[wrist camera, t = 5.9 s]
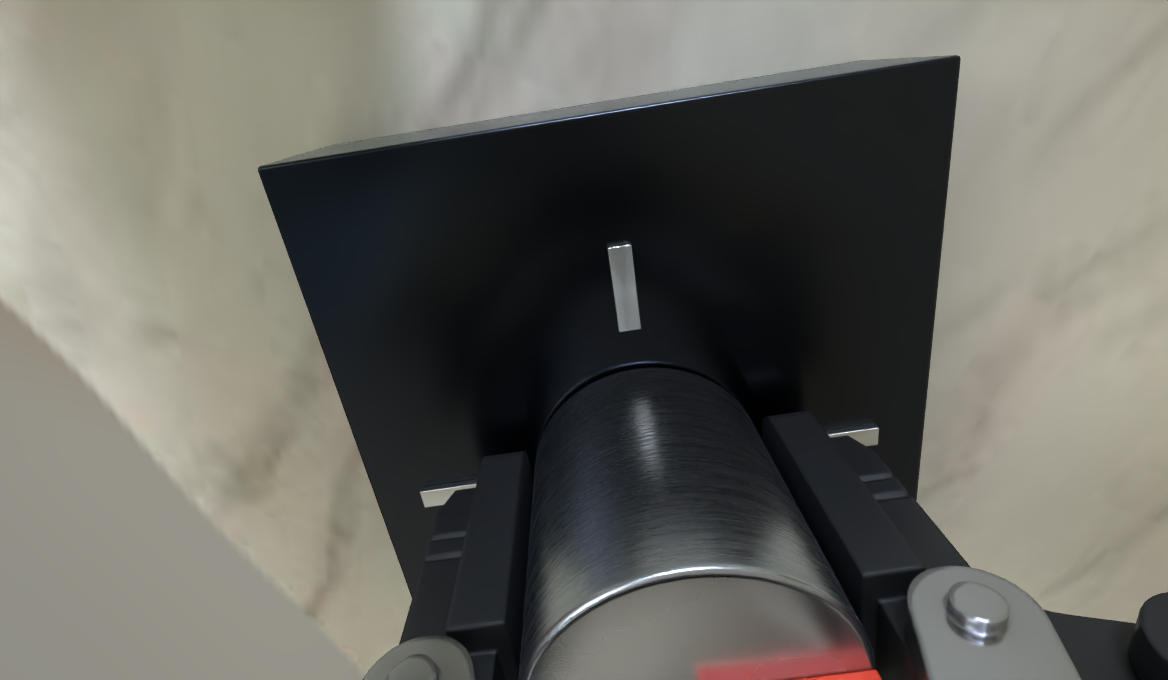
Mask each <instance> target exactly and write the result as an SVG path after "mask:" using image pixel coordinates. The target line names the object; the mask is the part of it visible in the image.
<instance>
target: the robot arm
mask: <svg viewBox="0 0 1168 680" xmlns="http://www.w3.org/2000/svg"><path fill="white" fill-rule="evenodd" d="M762 440H763V443H764V445H765V447H766V449H767V450H768V452H769V454H770V456H771V458H772V460H773V462H774V463H775V465H776V467H777V469H778V471H779V473H780V474H781V476H782V478H783V480H784V482H785V484H786V486H787V487H788V489H789V491H790V493H791V495H792V497H793V498H794V500H795V502H796V504H797V506H798V508H799V510H800V511H801V513H802V515H803V517H804V519H805V521H806V522H807V524H808V526H809V528H810V530H811V532H812V534H813V535H814V537H815V539H816V541H817V543H818V545H819V546H820V548H821V550H822V552H823V554H824V556H825V558H826V559H827V561H828V563H829V565H830V567H831V569H832V570H833V572H834V574H835V576H836V578H837V580H838V582H839V583H840V585H841V587H842V589H843V591H844V593H845V594H846V596H847V598H848V600H849V602H850V604H851V606H852V607H853V609H854V611H855V613H856V615H857V617H858V618H859V620H860V622H861V624H862V626H863V628H864V629H865V632H866V634H867V636H868V638H869V641H870V643H871V646H872V650H873V654H874V659H875V670H877V671H878V673H879V675H880V677H881V679H882V680H1168V592H1167V593H1161V594H1158V595H1155V596H1153V597H1151V598H1149V599H1148V600H1147V601H1145V602H1144V604H1143V606H1142V607H1141V609H1140V612H1139V615H1138V618H1137V622H1136V624H1135V623H1128V622H1120V621H1112V620H1105V619H1097V618H1089V617H1081V616H1074V615H1066V614H1061V613H1055V612H1050V611H1047V610H1043V608H1042V607H1041V606H1040V605H1039V604H1038V603H1037V602H1036V601H1035V600H1034V599H1033V598H1032V597H1031V596H1030V595H1029V594H1027V593H1026V592H1025V591H1023V590H1022V589H1021V588H1019V587H1018V586H1016V585H1015V584H1013V583H1011V582H1009V581H1008V580H1006V579H1004V578H1001V577H999V576H997V575H995V574H992V573H989V572H986V571H983V570H980V569H975V568H971V567H970V566H969V565H968V563H967V562H966V561H965V560H964V558H963V557H962V556H961V555H960V554H959V552H958V551H957V550H956V549H955V548H954V546H953V545H952V544H951V543H950V542H949V540H948V539H947V538H946V537H945V535H944V534H943V533H942V532H941V531H940V529H939V528H938V527H937V526H936V525H935V523H934V522H933V521H932V520H931V519H930V517H929V516H928V515H927V514H926V513H925V511H924V510H923V509H922V508H921V506H920V505H919V504H918V503H917V502H916V500H915V499H914V498H913V497H912V496H909V495H908V491H907V490H906V488H905V487H904V486H903V485H902V483H901V482H900V481H899V480H898V479H897V477H895V478H894V477H893V473H892V471H891V470H890V469H889V468H888V467H887V465H886V464H885V463H884V462H883V461H882V459H881V458H880V457H879V456H878V454H877V453H876V452H875V451H873V450H872V449H870V448H868V447H867V446H865V445H863V444H861V443H860V442H858V441H856V440H855V439H853V438H851V437H850V436H848V435H846V436H839V437H832V438H830V436H829V435H828V434H827V432H826V431H825V430H824V428H823V427H822V426H821V424H820V423H819V421H818V420H817V419H816V417H815V416H814V415H813V414H812V412H810V411H802V412H795V413H788V414H781V415H774V416H767V417H764V419H763V423H762ZM533 485H534V479H533V475H532V470H531V466H530V462H529V458H528V455H527V453H526V451H520V452H513V453H506V454H499V455H492V456H485V457H483V458H482V461H481V465H480V469H479V474H478V479H477V483H476V488H469V489H462V490H455V492H454V493H453V494H452V495H451V497H450V498H449V499H448V500H447V501H446V503H445V504H444V505H443V506H442V508H441V509H440V510H439V511H438V513H437V516H436V519H435V523H434V526H433V530H432V533H431V541H430V542H429V543H428V547H427V550H426V554H425V562H423V564H422V568H421V571H420V575H419V578H418V581H417V585H416V588H415V592H414V595H413V599H412V602H411V606H410V609H409V612H408V616H407V619H406V623H405V626H404V630H403V633H402V637H401V640H400V643H399V645H398V646H396V647H395V648H393V649H391V650H390V651H389V652H387V653H386V654H385V655H383V656H382V657H381V658H380V659H379V660H378V661H377V662H376V663H375V664H374V665H373V666H372V668H371V669H370V670H369V671H368V672H367V674H366V675H365V677H364V678H363V680H519V667H520V654H521V641H522V628H523V615H524V602H525V589H526V576H527V563H528V550H529V537H530V524H531V511H532V498H533Z"/></svg>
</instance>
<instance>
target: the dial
mask: <svg viewBox="0 0 1168 680" xmlns="http://www.w3.org/2000/svg"><path fill="white" fill-rule="evenodd" d="M519 680H882V679H881V677H880V675H879V673H878V671H877V670H875V659H874V654H873V650H872V646H871V643H870V641H869V638H868V636H867V634H866V632H865V629H864V628H863V626H862V624H861V622H860V620H859V618H858V617H857V615H856V613H855V611H854V609H853V607H852V606H851V604H850V602H849V600H848V598H847V596H846V594H845V593H844V591H843V589H842V587H841V585H840V583H839V582H838V580H837V578H836V576H835V574H834V572H833V570H832V569H831V567H830V565H829V563H828V561H827V559H826V558H825V556H824V554H823V552H822V550H821V548H820V546H819V545H818V543H817V541H816V539H815V537H814V535H813V534H812V532H811V530H810V528H809V526H808V524H807V522H806V521H805V519H804V517H803V515H802V513H801V511H800V510H799V508H798V506H797V504H796V502H795V500H794V498H793V497H792V495H791V493H790V491H789V489H788V487H787V486H786V484H785V482H784V480H783V478H782V476H781V474H780V473H779V471H778V469H777V467H776V465H775V463H774V462H773V460H772V458H771V456H770V454H769V452H768V450H767V449H766V447H765V445H764V443H763V441H762V439H761V438H760V436H759V434H758V432H757V430H756V428H755V427H754V425H753V423H752V421H751V419H750V417H749V416H748V414H747V413H746V411H745V410H744V408H743V407H742V406H741V405H740V403H739V402H738V401H737V400H736V399H735V398H734V397H733V396H732V395H731V394H729V393H728V392H727V391H726V390H724V389H723V388H722V387H720V386H718V385H717V384H715V383H713V382H712V381H710V380H708V379H705V378H703V377H700V376H698V375H695V374H692V373H688V372H685V371H681V370H675V369H669V368H639V369H632V370H627V371H622V372H618V373H615V374H612V375H609V376H606V377H603V378H601V379H599V380H597V381H595V382H593V383H591V384H589V385H587V386H586V387H584V388H583V389H581V390H579V391H578V392H577V393H576V394H574V395H573V396H572V397H571V398H569V399H568V400H567V401H566V402H565V403H564V404H563V405H562V406H561V407H560V408H559V409H558V410H557V411H556V413H555V414H554V415H553V417H552V418H551V420H550V421H549V422H548V424H547V426H546V428H545V430H544V432H543V434H542V436H541V439H540V442H539V445H538V448H537V454H536V459H535V472H534V485H533V498H532V511H531V524H530V537H529V550H528V563H527V576H526V589H525V602H524V615H523V628H522V641H521V654H520V667H519Z"/></svg>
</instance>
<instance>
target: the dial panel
mask: <svg viewBox="0 0 1168 680" xmlns="http://www.w3.org/2000/svg"><path fill="white" fill-rule="evenodd" d="M959 69H960V56H957V55H952V56H934V57H915V58H897V59H879V60H861V61H855V62H848V63H842V64H836V65H830V66H823V67H817V68H811V69H805V70H798V71H792V72H786V73H779V74H773V75H767V76H761V77H754V78H748V79H742V80H736V81H729V82H723V83H717V84H711V85H704V86H698V87H692V88H686V89H679V90H673V91H667V92H661V93H654V94H648V95H642V96H636V97H629V98H623V99H617V100H611V101H604V102H598V103H592V104H585V105H579V106H573V107H567V108H560V109H554V110H548V111H542V112H535V113H529V114H523V115H517V116H510V117H504V118H498V119H492V120H485V121H479V122H473V123H467V124H460V125H454V126H448V127H442V128H435V129H429V130H423V131H417V132H410V133H404V134H398V135H391V136H385V137H379V138H373V139H366V140H360V141H354V142H348V143H341V144H335V145H331V146H327V147H324V148H320V149H317V150H314V151H310V152H307V153H303V154H300V155H297V156H293V157H290V158H286V159H283V160H280V161H276V162H273V163H269V164H266V165H263V166H260V167H259V168H258V172H259V175H260V178H261V180H262V183H263V186H264V189H265V191H266V194H267V197H268V200H269V202H270V205H271V208H272V211H273V214H274V216H275V219H276V222H277V225H278V227H279V230H280V233H281V236H282V239H283V241H284V244H285V247H286V250H287V252H288V255H289V258H290V261H291V264H292V266H293V269H294V272H295V275H296V277H297V280H298V283H299V286H300V288H301V291H302V294H303V297H304V300H305V302H306V305H307V308H308V311H309V313H310V316H311V319H312V322H313V325H314V327H315V330H316V333H317V336H318V338H319V341H320V344H321V347H322V350H323V352H324V355H325V358H326V361H327V363H328V366H329V369H330V372H331V374H332V377H333V380H334V383H335V386H336V388H337V391H338V394H339V397H340V399H341V402H342V405H343V408H344V411H345V413H346V416H347V419H348V422H349V424H350V427H351V430H352V433H353V436H354V438H355V441H356V444H357V447H358V449H359V452H360V455H361V458H362V460H363V463H364V466H365V469H366V472H367V474H368V477H369V480H370V483H371V485H372V488H373V491H374V494H375V497H376V499H377V502H378V505H379V508H380V510H381V513H382V516H383V519H384V522H385V524H386V527H387V530H388V533H389V535H390V538H391V541H392V544H393V546H394V549H395V552H396V555H397V558H398V560H399V563H400V566H401V569H402V571H403V574H404V577H405V580H406V583H407V585H408V588H409V591H410V594H411V596H412V599H413V595H414V592H415V588H416V585H417V581H418V578H419V575H420V571H421V568H422V564H423V562H425V554H426V550H427V547H428V543H429V542H430V541H431V533H432V530H433V526H434V523H435V519H436V516H437V513H438V511H439V510H440V509H441V508H442V506H443V505H444V504H445V503H446V501H447V500H448V499H449V498H450V497H451V495H452V494H453V493H454V492H455V490H462V489H469V488H476V483H477V479H478V474H479V469H480V465H481V461H482V458H483V457H485V456H492V455H499V454H506V453H513V452H520V451H526V453H527V455H528V458H529V462H530V466H531V470H532V475H533V479H534V472H535V459H536V454H537V448H538V445H539V442H540V439H541V436H542V434H543V432H544V430H545V428H546V426H547V424H548V422H549V421H550V420H551V418H552V417H553V415H554V414H555V413H556V411H557V410H558V409H559V408H560V407H561V406H562V405H563V404H564V403H565V402H566V401H567V400H568V399H569V398H571V397H572V396H573V395H574V394H576V393H577V392H578V391H579V390H581V389H583V388H584V387H586V386H587V385H589V384H591V383H593V382H595V381H597V380H599V379H601V378H603V377H606V376H609V375H612V374H615V373H618V372H622V371H627V370H632V369H639V368H669V369H675V370H681V371H685V372H688V373H692V374H695V375H698V376H700V377H703V378H705V379H708V380H710V381H712V382H713V383H715V384H717V385H718V386H720V387H722V388H723V389H724V390H726V391H727V392H728V393H729V394H731V395H732V396H733V397H734V398H735V399H736V400H737V401H738V402H739V403H740V405H741V406H742V407H743V408H744V410H745V411H746V413H747V414H748V416H749V417H750V419H751V421H752V423H753V425H754V427H755V428H756V430H757V432H758V434H759V436H760V438H761V439H762V423H763V419H764V417H767V416H774V415H781V414H788V413H795V412H802V411H810V412H812V414H813V415H814V416H815V417H816V419H817V420H818V421H819V423H820V424H821V426H822V427H823V428H824V430H825V431H826V432H827V434H828V435H829V436H830V438H832V437H839V436H846V435H848V436H850V437H851V438H853V439H855V440H856V441H858V442H860V443H861V444H863V445H865V446H867V447H868V448H870V449H872V450H873V451H875V452H876V453H877V454H878V456H879V457H880V458H881V459H882V461H883V462H884V463H885V464H886V465H887V467H888V468H889V469H890V470H891V471H892V473H893V477H894V478H895V477H897V479H898V480H899V481H900V482H901V483H902V485H903V486H904V487H905V488H906V490H907V491H908V495H909V496H912V497H913V498H914V499H915V500H916V499H917V489H918V479H919V469H920V459H921V449H922V439H923V429H924V419H925V409H926V399H927V389H928V379H929V369H930V359H931V349H932V339H933V329H934V319H935V309H936V299H937V289H938V279H939V269H940V259H941V249H942V239H943V229H944V219H945V209H946V199H947V189H948V179H949V169H950V159H951V149H952V139H953V129H954V119H955V109H956V99H957V89H958V79H959ZM762 441H763V440H762Z"/></svg>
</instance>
